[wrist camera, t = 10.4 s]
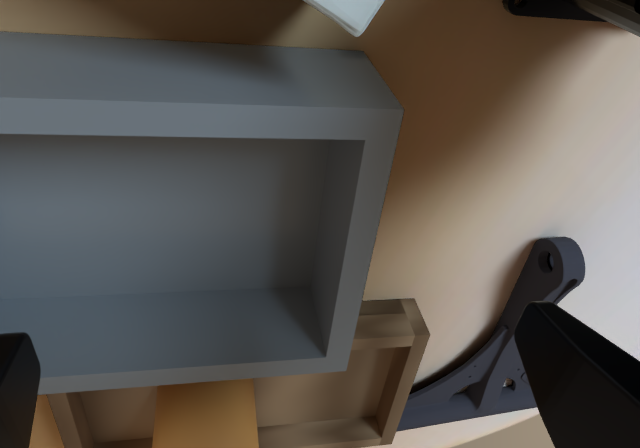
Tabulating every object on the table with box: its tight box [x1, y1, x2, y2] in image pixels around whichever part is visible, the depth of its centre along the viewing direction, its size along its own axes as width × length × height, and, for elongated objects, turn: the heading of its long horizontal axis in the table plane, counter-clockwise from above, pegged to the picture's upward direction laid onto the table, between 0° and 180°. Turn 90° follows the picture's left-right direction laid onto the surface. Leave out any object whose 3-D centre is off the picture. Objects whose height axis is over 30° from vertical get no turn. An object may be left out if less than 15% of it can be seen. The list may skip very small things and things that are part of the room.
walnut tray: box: [46, 299, 430, 448], centre depth 28 cm, size 18×10×2 cm, turn 84°
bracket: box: [396, 237, 585, 432], centre depth 30 cm, size 14×15×3 cm
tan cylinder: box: [152, 378, 259, 448], centre depth 25 cm, size 5×5×6 cm
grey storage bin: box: [0, 31, 404, 395], centre depth 19 cm, size 16×12×5 cm
